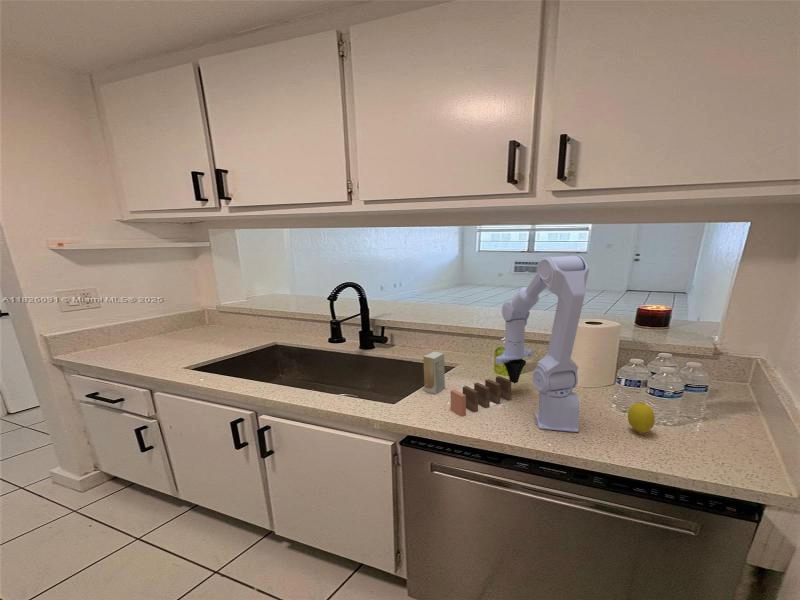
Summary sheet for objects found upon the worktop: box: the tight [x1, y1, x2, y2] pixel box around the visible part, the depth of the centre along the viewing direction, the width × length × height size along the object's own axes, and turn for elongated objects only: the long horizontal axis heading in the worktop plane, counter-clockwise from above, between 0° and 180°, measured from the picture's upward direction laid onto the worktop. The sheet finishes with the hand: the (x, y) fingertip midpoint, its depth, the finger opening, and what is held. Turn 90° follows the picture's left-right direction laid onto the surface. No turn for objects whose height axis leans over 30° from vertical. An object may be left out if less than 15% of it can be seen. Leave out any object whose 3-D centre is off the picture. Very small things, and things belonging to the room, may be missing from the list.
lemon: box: [627, 401, 656, 434], centre depth 90 cm, size 6×6×8 cm
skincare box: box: [423, 351, 446, 395], centre depth 119 cm, size 6×4×12 cm
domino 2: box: [462, 385, 479, 413], centre depth 106 cm, size 1×5×6 cm, turn 31°
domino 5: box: [495, 375, 512, 402], centre depth 112 cm, size 1×5×6 cm, turn 31°
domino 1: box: [450, 388, 467, 418], centre depth 103 cm, size 1×5×6 cm, turn 31°
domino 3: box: [473, 382, 491, 409], centre depth 108 cm, size 1×5×6 cm, turn 31°
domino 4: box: [484, 378, 502, 405], centre depth 110 cm, size 1×5×6 cm, turn 31°
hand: (513, 381), depth 115 cm, fingers closed
